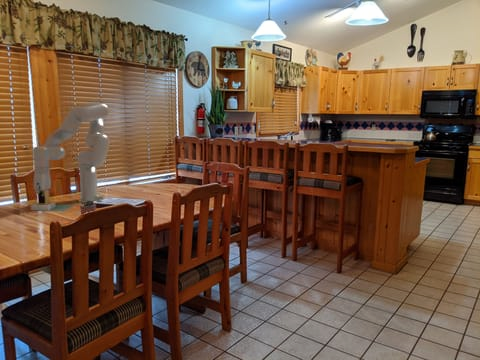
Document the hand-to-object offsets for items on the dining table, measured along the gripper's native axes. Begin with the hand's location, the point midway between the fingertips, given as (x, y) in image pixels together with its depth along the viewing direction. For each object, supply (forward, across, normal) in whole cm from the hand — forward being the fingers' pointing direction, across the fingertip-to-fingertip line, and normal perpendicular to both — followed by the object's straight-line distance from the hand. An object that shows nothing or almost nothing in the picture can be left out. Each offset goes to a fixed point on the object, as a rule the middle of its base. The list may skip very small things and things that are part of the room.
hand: (43, 201), depth 207 cm
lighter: (+5, +17, +31) cm, 36 cm away
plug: (+3, 0, 0) cm, 3 cm away
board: (+5, -2, +4) cm, 6 cm away
